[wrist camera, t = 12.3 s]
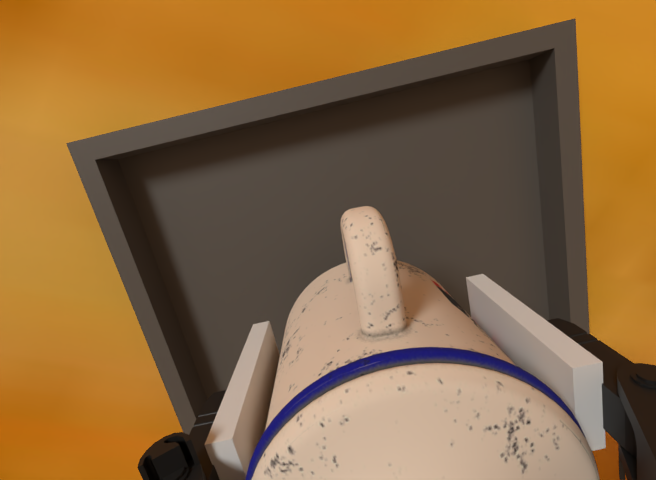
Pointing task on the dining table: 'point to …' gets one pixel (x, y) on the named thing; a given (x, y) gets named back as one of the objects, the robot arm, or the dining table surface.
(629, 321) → the dining table surface
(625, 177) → the dining table surface
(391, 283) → the teacup with lid
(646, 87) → the dining table surface
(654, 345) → the dining table surface
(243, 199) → the serving tray
